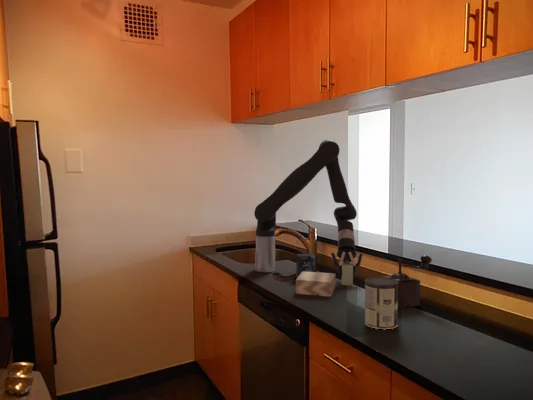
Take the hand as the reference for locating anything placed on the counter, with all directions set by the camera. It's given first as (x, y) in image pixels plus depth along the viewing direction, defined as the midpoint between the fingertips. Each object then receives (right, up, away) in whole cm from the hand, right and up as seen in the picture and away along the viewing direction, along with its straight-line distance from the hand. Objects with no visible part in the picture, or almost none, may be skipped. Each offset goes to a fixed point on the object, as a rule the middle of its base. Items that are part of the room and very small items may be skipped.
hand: (347, 274), depth 177 cm
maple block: (-14, -5, -7) cm, 17 cm away
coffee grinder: (+17, -6, -23) cm, 29 cm away
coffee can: (+2, -8, -44) cm, 45 cm away
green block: (0, -4, +2) cm, 5 cm away
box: (-17, -4, +13) cm, 21 cm away
